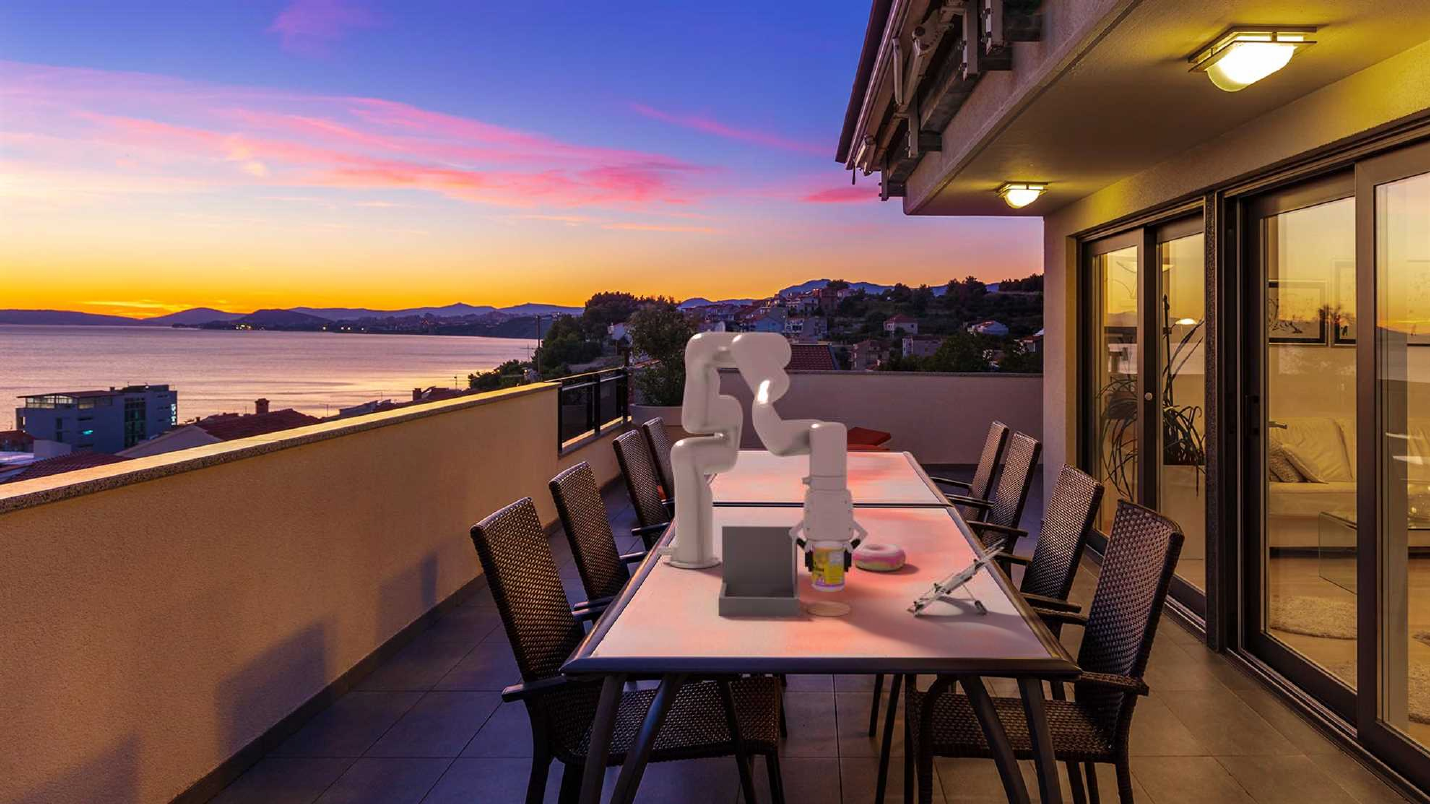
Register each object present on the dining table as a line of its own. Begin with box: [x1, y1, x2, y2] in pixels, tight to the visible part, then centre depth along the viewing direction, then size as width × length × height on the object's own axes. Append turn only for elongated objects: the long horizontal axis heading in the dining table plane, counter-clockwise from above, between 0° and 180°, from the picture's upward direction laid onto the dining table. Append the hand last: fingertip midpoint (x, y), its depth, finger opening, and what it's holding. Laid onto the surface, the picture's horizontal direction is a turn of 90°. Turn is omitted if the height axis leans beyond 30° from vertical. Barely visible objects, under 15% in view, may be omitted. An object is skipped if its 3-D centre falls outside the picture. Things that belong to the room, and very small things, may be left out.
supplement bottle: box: [811, 540, 846, 593], centre depth 169 cm, size 7×7×13 cm
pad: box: [805, 601, 851, 617], centre depth 169 cm, size 9×9×1 cm
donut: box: [852, 542, 907, 572], centre depth 206 cm, size 14×13×5 cm
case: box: [718, 525, 800, 618], centre depth 171 cm, size 16×13×16 cm
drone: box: [906, 538, 1005, 616], centre depth 167 cm, size 23×23×10 cm
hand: (828, 569), depth 169 cm, fingers closed on supplement bottle, 6 cm apart
